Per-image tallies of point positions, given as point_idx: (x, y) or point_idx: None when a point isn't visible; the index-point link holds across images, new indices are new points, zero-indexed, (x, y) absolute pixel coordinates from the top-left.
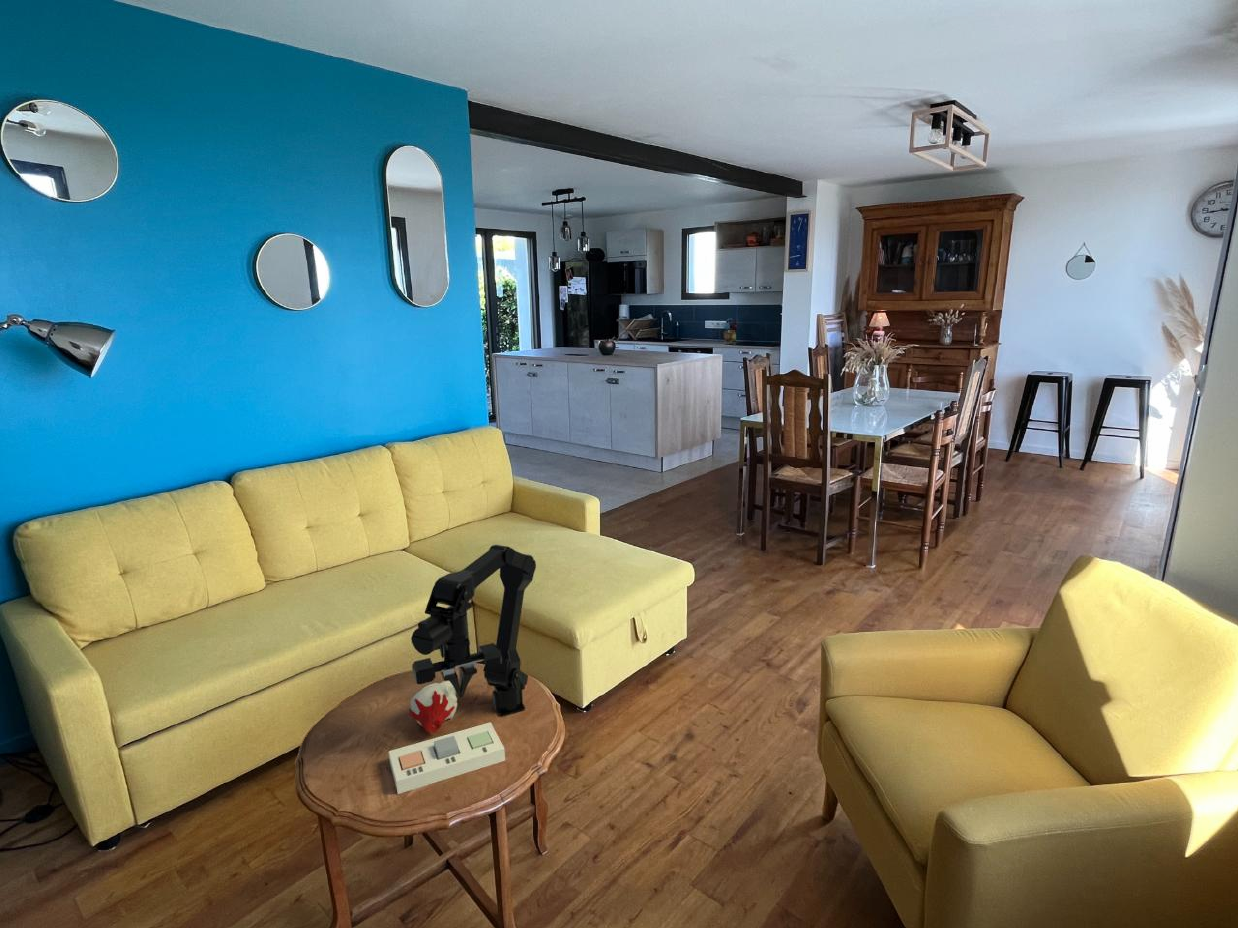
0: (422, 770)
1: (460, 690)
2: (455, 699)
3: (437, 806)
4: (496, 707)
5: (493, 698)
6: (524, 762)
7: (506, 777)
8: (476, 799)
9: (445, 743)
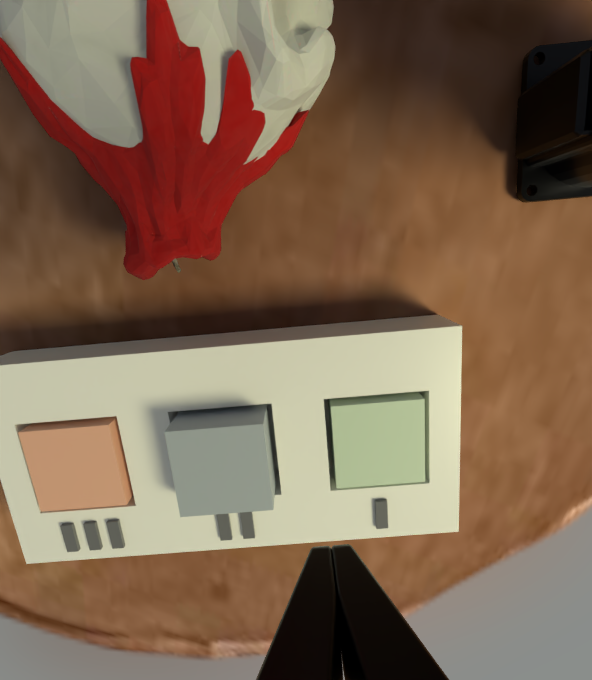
0: (122, 546)
1: (348, 677)
2: (321, 79)
3: (186, 612)
4: (529, 153)
5: (551, 93)
6: (495, 527)
7: (414, 571)
8: None
9: (218, 466)
